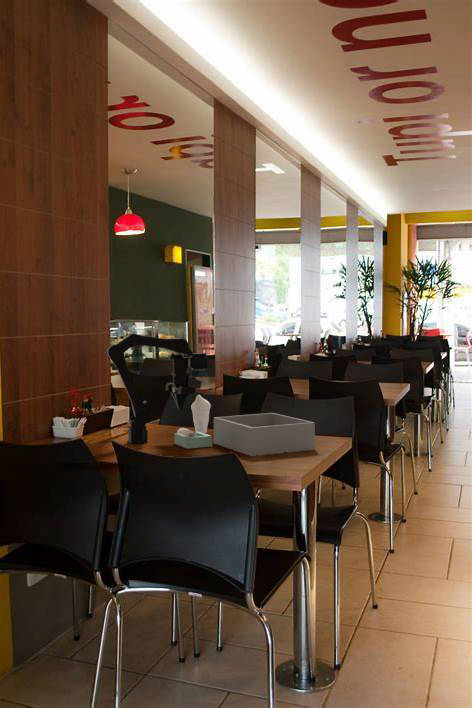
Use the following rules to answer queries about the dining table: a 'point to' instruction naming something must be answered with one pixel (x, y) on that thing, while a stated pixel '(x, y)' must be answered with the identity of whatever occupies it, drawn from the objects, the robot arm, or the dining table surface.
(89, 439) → the dining table surface
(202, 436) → the teal rectangular tray
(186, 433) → the bottle
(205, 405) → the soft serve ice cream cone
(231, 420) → the frame
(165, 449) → the dining table surface
